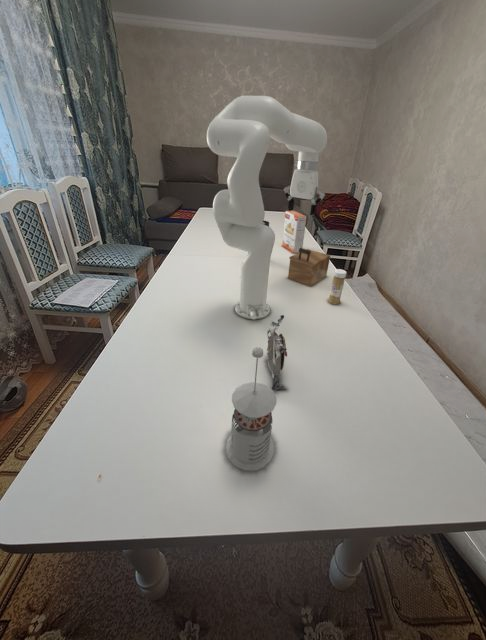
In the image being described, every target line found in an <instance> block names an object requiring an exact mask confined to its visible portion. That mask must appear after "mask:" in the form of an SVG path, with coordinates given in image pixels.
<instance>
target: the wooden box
mask: <svg viewBox="0 0 486 640" xmlns="http://www.w3.org/2000/svg"><path fill="white" fill-rule="evenodd" d="M330 259H331V256H330V257H329V258H327V259H325V260H324V261H322V262H320V263H318V264H317V265H315V266H311V265H308V264H305V263H302V262H298V261H295V260H292V259H289V266H288V274H287V279H288V280H292V281H294V282H296V283H300V284H302V285H305V286H308V287H313V286H314V285H316V284H318V283H319V282H321V280H324V278H326V277H327V275H328V270H329V264H330Z"/></svg>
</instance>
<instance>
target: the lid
mask: <svg viewBox="0 0 486 640" xmlns="http://www.w3.org/2000/svg"><path fill="white" fill-rule="evenodd" d="M329 257H330V258H331V254H326V253H323V252H320V251H315V250H313V249H309V248H303V247H302V248H300V249H299V253H294V254H293V255H290V256H289V260H290V259H292V260H295V261H298V262H302V263H305V264H308V265H311V266H315V265H317V264H318V263H320V262H322V261H324V260H325V259H327V258H329Z"/></svg>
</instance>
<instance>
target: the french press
mask: <svg viewBox="0 0 486 640" xmlns="http://www.w3.org/2000/svg"><path fill="white" fill-rule="evenodd" d="M251 356H252V357H253V358H256V361H255V374H254V375H255V376H254V382H253V381H251V382H246V383H242V384H241V385H239V386H237V387H236V388H235V389H234V391H232V394H231V403H232V405H233V408H234V410H233V414H232V416H231V428H230V429H231V433H230V436H229V437H228V439H227V441H226V445H225V446H226V447H225V451H226V452H225V453H226V456H227V458H228V460H229V462H231V463H232V464H233V465H234V467H236V468H239V469H241V470H243V471H257V470H260V469H263V468H264V467H266V466H267V465H268V464H269V463H270V462H272V461H271V460H272V459H273V456H274V454H275V443H274V441H273V439H272V437H271V436H272V429H273V425H272V424H273V421H274V420H273V415H272V412H273V411H274V410H275V407H276V405H277V396H276V393H275V390H273V389H272V388H270V387H269V386H268V385H266V384H263V383H261V382H257V375H258V364H259V363H258V362H259V359H260V358H263V356H264V350H263V348H261V347H254V348H253V349H252V353H251Z"/></svg>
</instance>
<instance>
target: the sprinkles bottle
mask: <svg viewBox="0 0 486 640" xmlns="http://www.w3.org/2000/svg"><path fill="white" fill-rule="evenodd" d="M347 272H348V271H346V270H345V269H341V268H336V269H335V270H334V272H333V278H332V282H331V287H330V290H329V291H330V293H329V297H328V302H329V303H330V304H332V305H339V304H340V303H341V298H342V294H343V289H344V286H345V280H346V277H347Z"/></svg>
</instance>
